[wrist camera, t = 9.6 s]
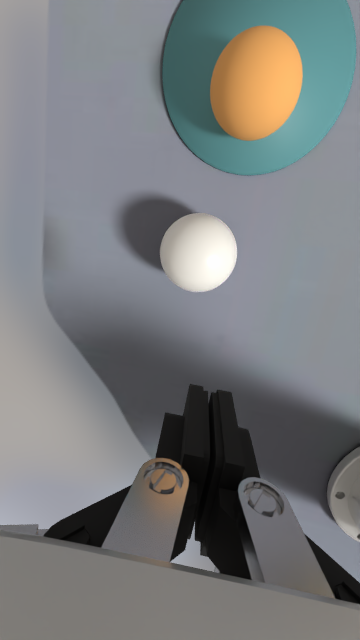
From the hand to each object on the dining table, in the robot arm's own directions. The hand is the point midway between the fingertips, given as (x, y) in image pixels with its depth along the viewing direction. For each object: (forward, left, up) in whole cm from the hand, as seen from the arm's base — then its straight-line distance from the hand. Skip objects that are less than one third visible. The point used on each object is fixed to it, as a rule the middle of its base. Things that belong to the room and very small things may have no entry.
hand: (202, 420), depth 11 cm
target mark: (+14, -12, -14) cm, 23 cm away
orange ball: (+13, -10, -11) cm, 20 cm away
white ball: (+5, -3, -11) cm, 13 cm away
